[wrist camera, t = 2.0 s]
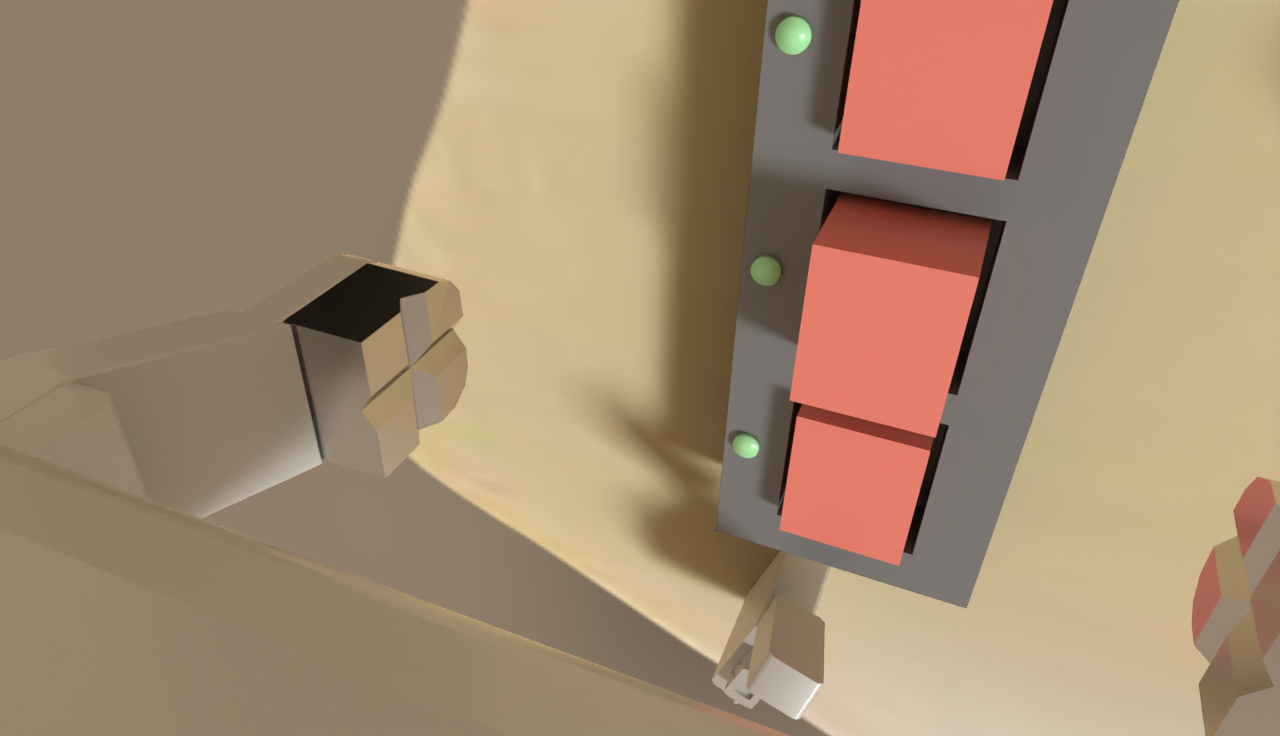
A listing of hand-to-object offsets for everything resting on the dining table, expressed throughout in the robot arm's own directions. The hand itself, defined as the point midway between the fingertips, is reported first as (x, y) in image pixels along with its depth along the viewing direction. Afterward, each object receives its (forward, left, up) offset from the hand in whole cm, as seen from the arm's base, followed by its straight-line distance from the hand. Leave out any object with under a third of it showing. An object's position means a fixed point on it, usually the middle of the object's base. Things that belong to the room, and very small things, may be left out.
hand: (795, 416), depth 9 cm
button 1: (0, 0, -15) cm, 15 cm away
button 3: (+12, 0, -15) cm, 19 cm away
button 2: (+6, 0, -14) cm, 15 cm away
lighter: (+19, -1, -16) cm, 25 cm away
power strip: (+4, 0, -16) cm, 17 cm away
